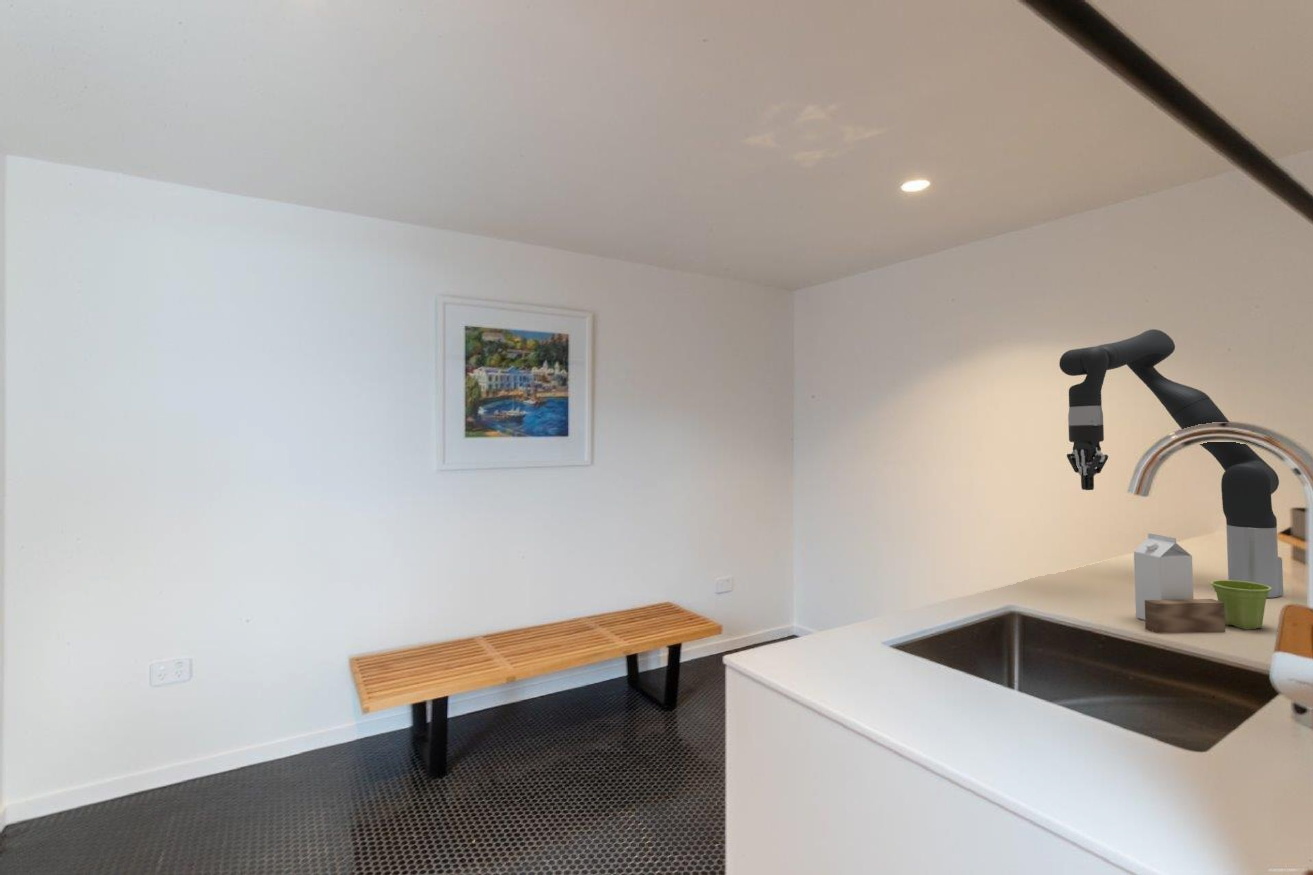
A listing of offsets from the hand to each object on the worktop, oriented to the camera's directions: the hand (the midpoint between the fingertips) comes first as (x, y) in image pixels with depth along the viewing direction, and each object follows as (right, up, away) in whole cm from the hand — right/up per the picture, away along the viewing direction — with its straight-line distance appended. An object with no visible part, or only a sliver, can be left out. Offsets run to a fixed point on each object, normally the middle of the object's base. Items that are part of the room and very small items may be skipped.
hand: (1087, 489), depth 160 cm
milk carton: (-1, -27, -26) cm, 37 cm away
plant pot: (+12, -27, -29) cm, 42 cm away
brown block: (-2, -27, -32) cm, 42 cm away
